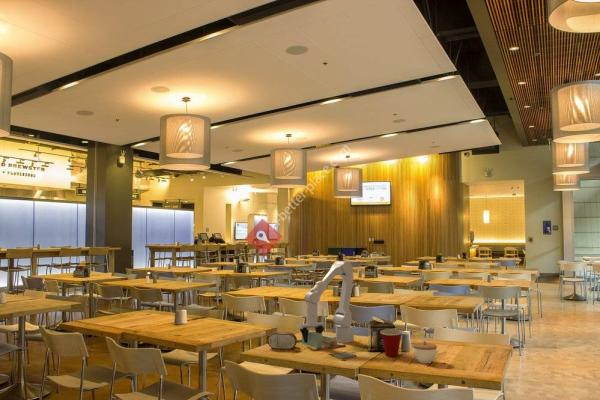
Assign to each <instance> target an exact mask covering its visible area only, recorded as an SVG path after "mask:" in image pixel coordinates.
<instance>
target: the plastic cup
mask: <svg viewBox="0 0 600 400" xmlns="http://www.w3.org/2000/svg"><path fill="white" fill-rule="evenodd" d="M379 333H380V334H381V339H382V344H383V348H384V355H385V356H386V357H387V356H388V357H387V358H398V356H399V350H400V345H401V343H400V342H401V338H402V334H403V330H402V329H397V328H387V329H381V330H380V331H379Z"/></svg>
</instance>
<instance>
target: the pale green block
mask: <svg viewBox="0 0 600 400" xmlns="http://www.w3.org/2000/svg"><path fill="white" fill-rule="evenodd" d="M308 330H309V332H308V342H307V343H305V342H304V339H303V335H302V334H301V340H302V342H301V344H302V345H306V346H309V347H312V348H314V349H316V348H322V347H323V345H322V334H323V333H322V334H321V333H317V332H316V331H313V330H310V329H308Z"/></svg>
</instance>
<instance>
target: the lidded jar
mask: <svg viewBox="0 0 600 400" xmlns="http://www.w3.org/2000/svg"><path fill="white" fill-rule="evenodd" d="M412 347H413V348H412V350H413V356H414V358H415V360H416V361H417V362H418V363H419V362H420V364H424V363H429V364H432V363H433V361H434V360H436V356H437V351H438V350H437V349H438V346H437V344H434V343H431V342H426V340H424V341H423V342H415V343H413V344H412ZM431 362H432V363H431Z"/></svg>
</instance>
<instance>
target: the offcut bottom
mask: <svg viewBox="0 0 600 400" xmlns="http://www.w3.org/2000/svg"><path fill="white" fill-rule="evenodd" d="M322 344H324V345H328V346H334V345H337V344H338V342H337V341H333V342H330V341H326V340H322ZM324 345H323V346H324Z"/></svg>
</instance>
